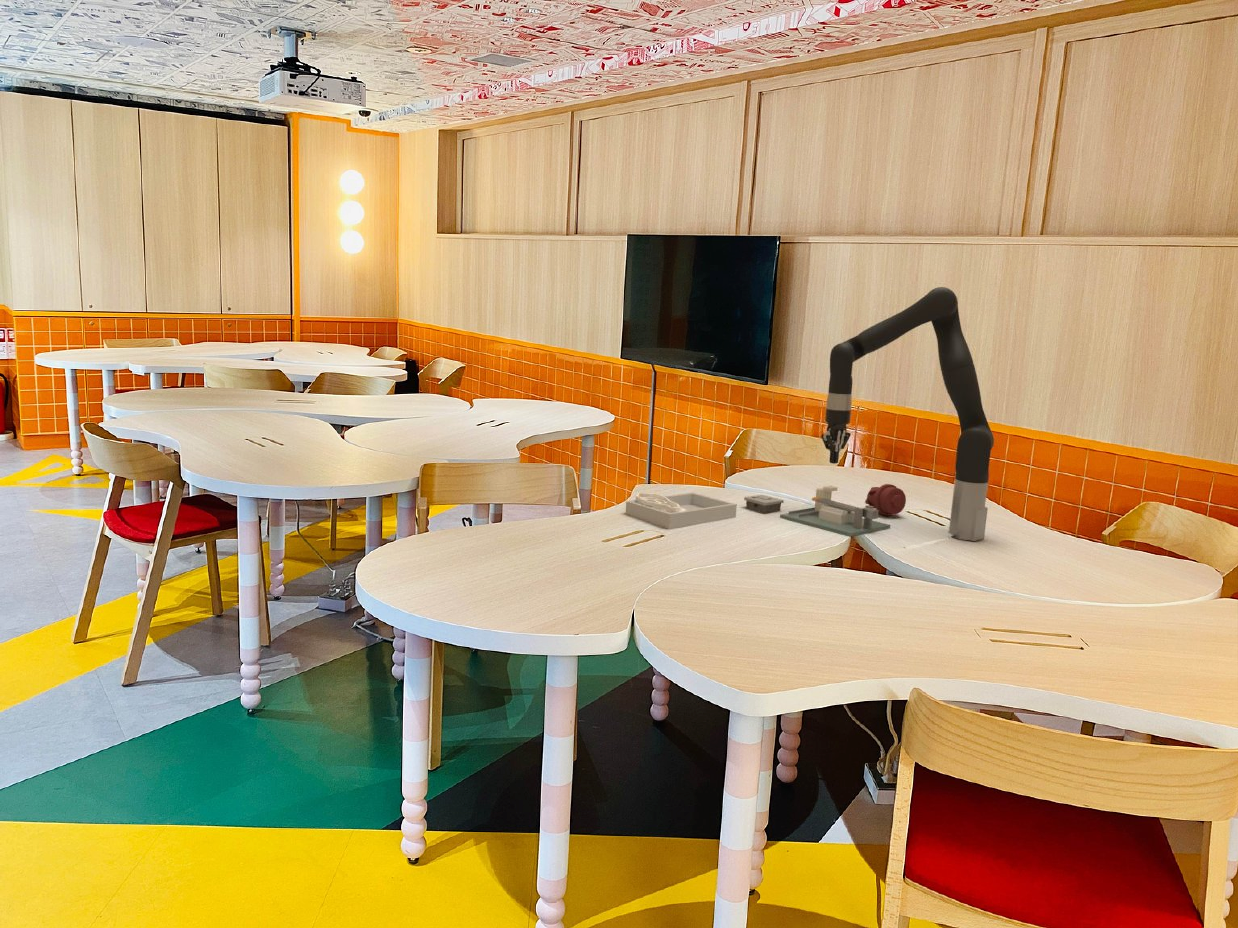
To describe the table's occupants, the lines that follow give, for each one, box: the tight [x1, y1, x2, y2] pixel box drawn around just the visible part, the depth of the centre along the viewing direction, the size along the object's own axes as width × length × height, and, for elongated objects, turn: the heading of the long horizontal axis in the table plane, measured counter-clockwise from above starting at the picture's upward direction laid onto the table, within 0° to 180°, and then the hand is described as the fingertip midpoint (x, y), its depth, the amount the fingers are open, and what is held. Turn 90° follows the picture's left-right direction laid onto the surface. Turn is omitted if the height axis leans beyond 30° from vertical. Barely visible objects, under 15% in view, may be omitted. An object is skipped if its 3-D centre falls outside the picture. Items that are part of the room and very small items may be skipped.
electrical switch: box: [743, 494, 784, 514], centre depth 297 cm, size 9×5×9 cm
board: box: [779, 504, 891, 537], centre depth 284 cm, size 26×20×7 cm
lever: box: [811, 496, 880, 520], centre depth 282 cm, size 22×3×2 cm, turn 41°
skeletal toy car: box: [635, 492, 686, 513], centre depth 278 cm, size 20×11×7 cm, turn 21°
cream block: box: [814, 485, 838, 511], centre depth 295 cm, size 5×4×8 cm
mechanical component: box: [864, 483, 907, 516], centre depth 300 cm, size 12×10×10 cm
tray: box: [625, 492, 738, 530], centre depth 282 cm, size 19×28×4 cm
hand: (833, 463), depth 292 cm, fingers closed
